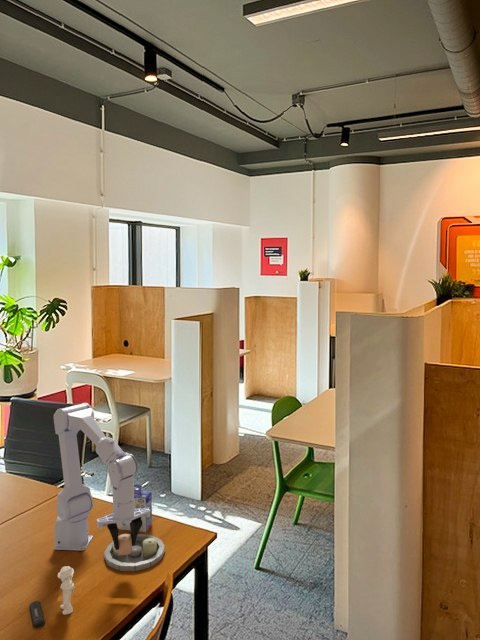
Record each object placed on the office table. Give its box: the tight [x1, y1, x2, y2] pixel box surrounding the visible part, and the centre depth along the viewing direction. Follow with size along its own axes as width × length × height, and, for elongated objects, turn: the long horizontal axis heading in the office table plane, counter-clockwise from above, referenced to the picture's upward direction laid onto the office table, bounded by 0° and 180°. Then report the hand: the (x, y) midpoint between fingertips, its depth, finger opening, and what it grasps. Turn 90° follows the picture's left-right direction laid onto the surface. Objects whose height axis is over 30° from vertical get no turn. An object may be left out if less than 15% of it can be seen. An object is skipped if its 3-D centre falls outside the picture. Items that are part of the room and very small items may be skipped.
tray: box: [103, 533, 166, 572], centre depth 156 cm, size 17×17×2 cm
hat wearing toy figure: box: [57, 565, 75, 616], centre depth 133 cm, size 9×4×12 cm, turn 27°
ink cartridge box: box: [118, 484, 153, 533], centre depth 172 cm, size 10×6×14 cm, turn 79°
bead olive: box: [143, 538, 157, 558], centre depth 156 cm, size 4×4×4 cm
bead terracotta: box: [117, 533, 132, 555], centre depth 147 cm, size 4×4×4 cm
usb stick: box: [29, 600, 46, 629], centre depth 131 cm, size 10×3×2 cm, turn 28°
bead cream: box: [112, 541, 125, 557], centre depth 156 cm, size 4×4×4 cm
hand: (124, 546), depth 147 cm, fingers closed on bead terracotta, 4 cm apart
